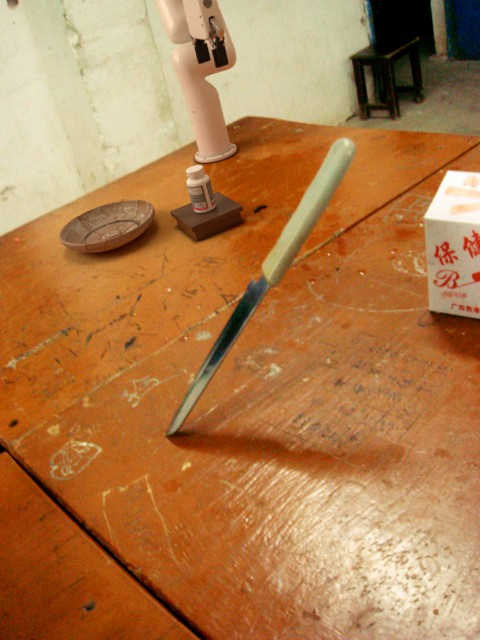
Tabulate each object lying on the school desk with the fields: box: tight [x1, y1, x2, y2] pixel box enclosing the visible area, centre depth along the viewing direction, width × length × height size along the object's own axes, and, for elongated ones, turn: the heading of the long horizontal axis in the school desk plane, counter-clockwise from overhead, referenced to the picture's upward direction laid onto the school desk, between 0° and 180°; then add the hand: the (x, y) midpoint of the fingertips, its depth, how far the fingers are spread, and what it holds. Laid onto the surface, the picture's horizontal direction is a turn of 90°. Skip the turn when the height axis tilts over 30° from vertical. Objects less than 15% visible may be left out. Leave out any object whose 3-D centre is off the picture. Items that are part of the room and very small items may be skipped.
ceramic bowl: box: [58, 199, 156, 254], centre depth 153 cm, size 23×24×5 cm
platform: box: [169, 191, 244, 242], centre depth 148 cm, size 13×13×4 cm
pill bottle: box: [185, 164, 216, 213], centre depth 145 cm, size 5×5×10 cm
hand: (213, 64), depth 148 cm, fingers open, 9 cm apart
